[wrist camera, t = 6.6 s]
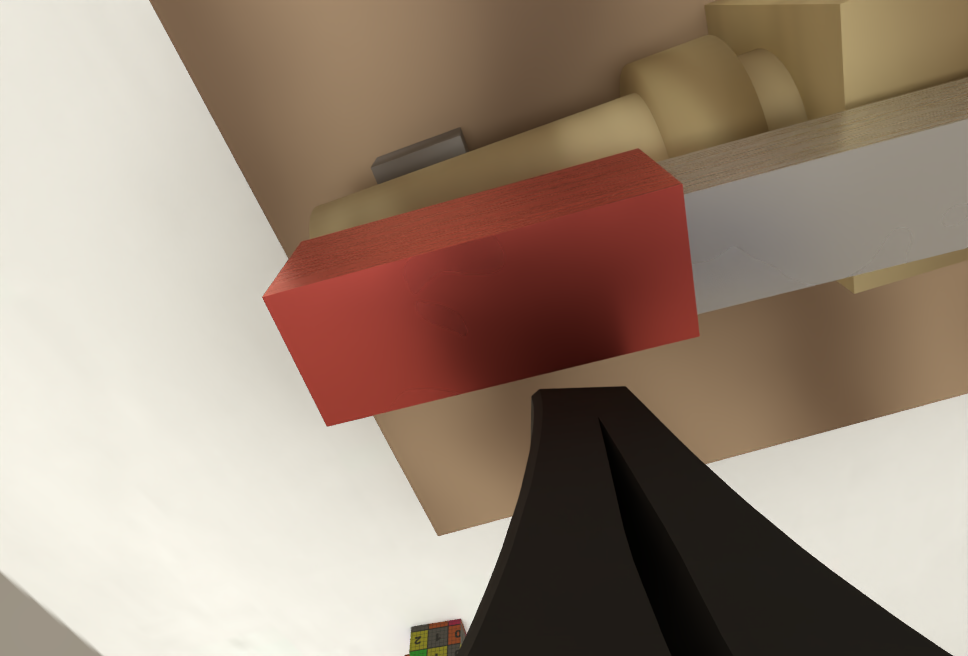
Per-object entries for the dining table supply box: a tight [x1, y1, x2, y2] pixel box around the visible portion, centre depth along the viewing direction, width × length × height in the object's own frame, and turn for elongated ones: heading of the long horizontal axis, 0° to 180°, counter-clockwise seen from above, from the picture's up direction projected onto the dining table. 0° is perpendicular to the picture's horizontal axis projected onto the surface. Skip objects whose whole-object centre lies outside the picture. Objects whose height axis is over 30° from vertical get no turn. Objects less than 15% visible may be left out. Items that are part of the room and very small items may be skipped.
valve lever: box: [262, 77, 968, 427], centre depth 8 cm, size 12×2×2 cm, turn 105°
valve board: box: [149, 0, 968, 536], centre depth 12 cm, size 26×16×6 cm, turn 109°
